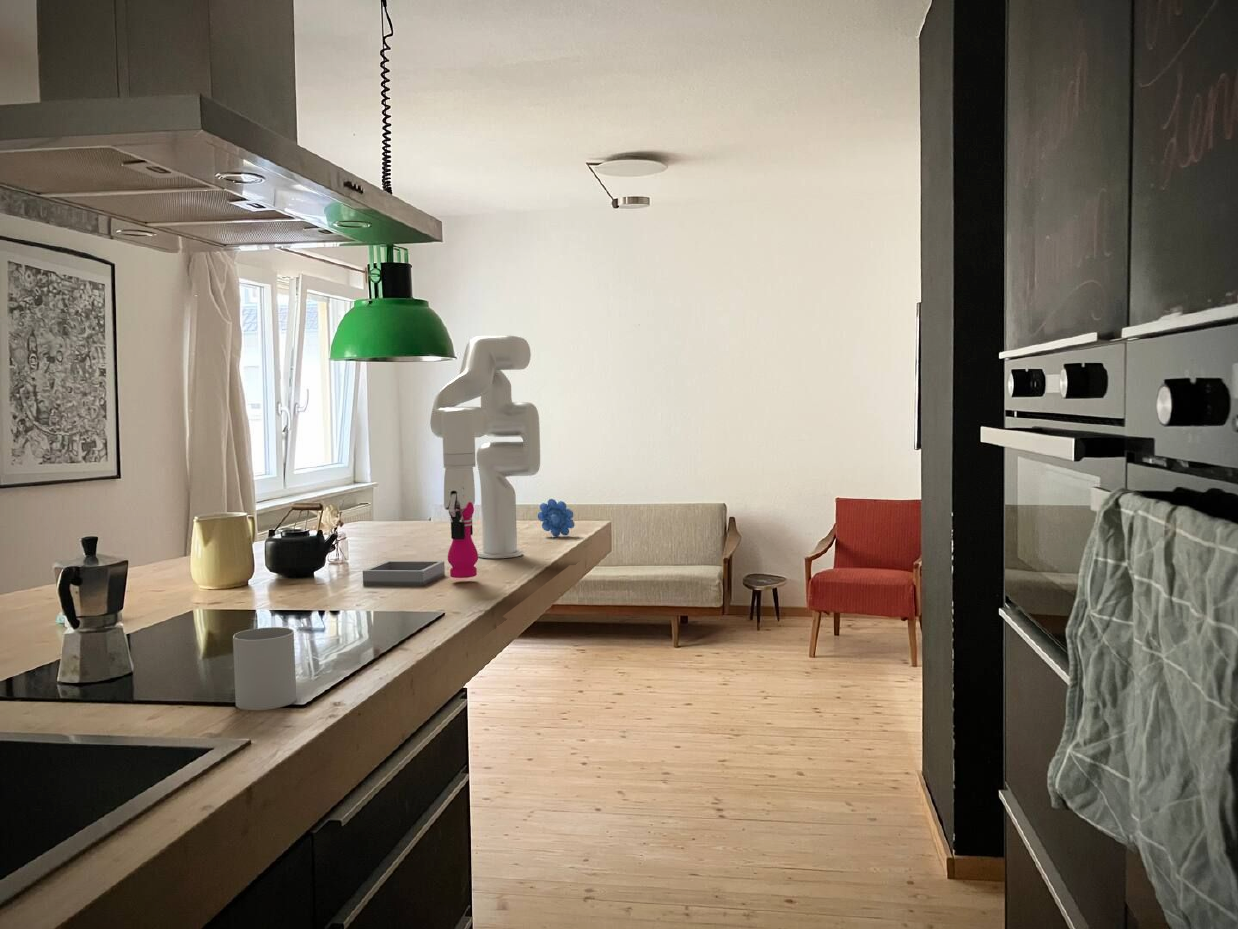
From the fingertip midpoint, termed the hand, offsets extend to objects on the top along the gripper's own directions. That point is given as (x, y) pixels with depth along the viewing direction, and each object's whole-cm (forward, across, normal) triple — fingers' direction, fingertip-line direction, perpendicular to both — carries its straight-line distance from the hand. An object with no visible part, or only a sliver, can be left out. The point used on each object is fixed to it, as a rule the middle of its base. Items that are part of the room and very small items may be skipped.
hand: (462, 536), depth 245 cm
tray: (+11, -2, -16) cm, 19 cm away
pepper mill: (+10, 0, 0) cm, 10 cm away
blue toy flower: (+13, -80, +4) cm, 81 cm away
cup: (+9, +98, +2) cm, 98 cm away
